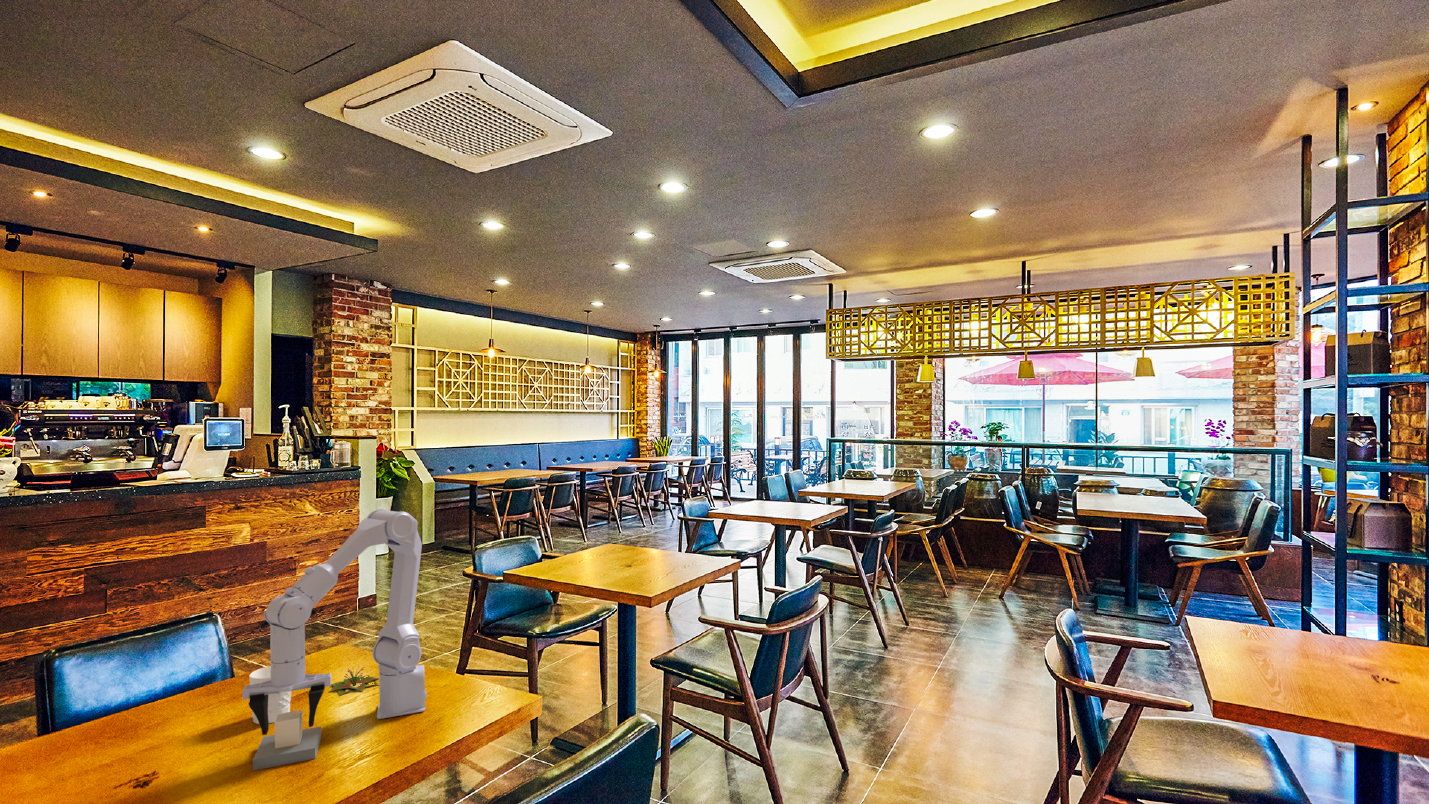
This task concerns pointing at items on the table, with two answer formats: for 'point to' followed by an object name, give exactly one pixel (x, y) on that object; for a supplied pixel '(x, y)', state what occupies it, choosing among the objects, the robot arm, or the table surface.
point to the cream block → (288, 729)
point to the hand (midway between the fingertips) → (288, 728)
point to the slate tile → (287, 750)
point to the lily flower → (352, 682)
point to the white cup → (271, 696)
